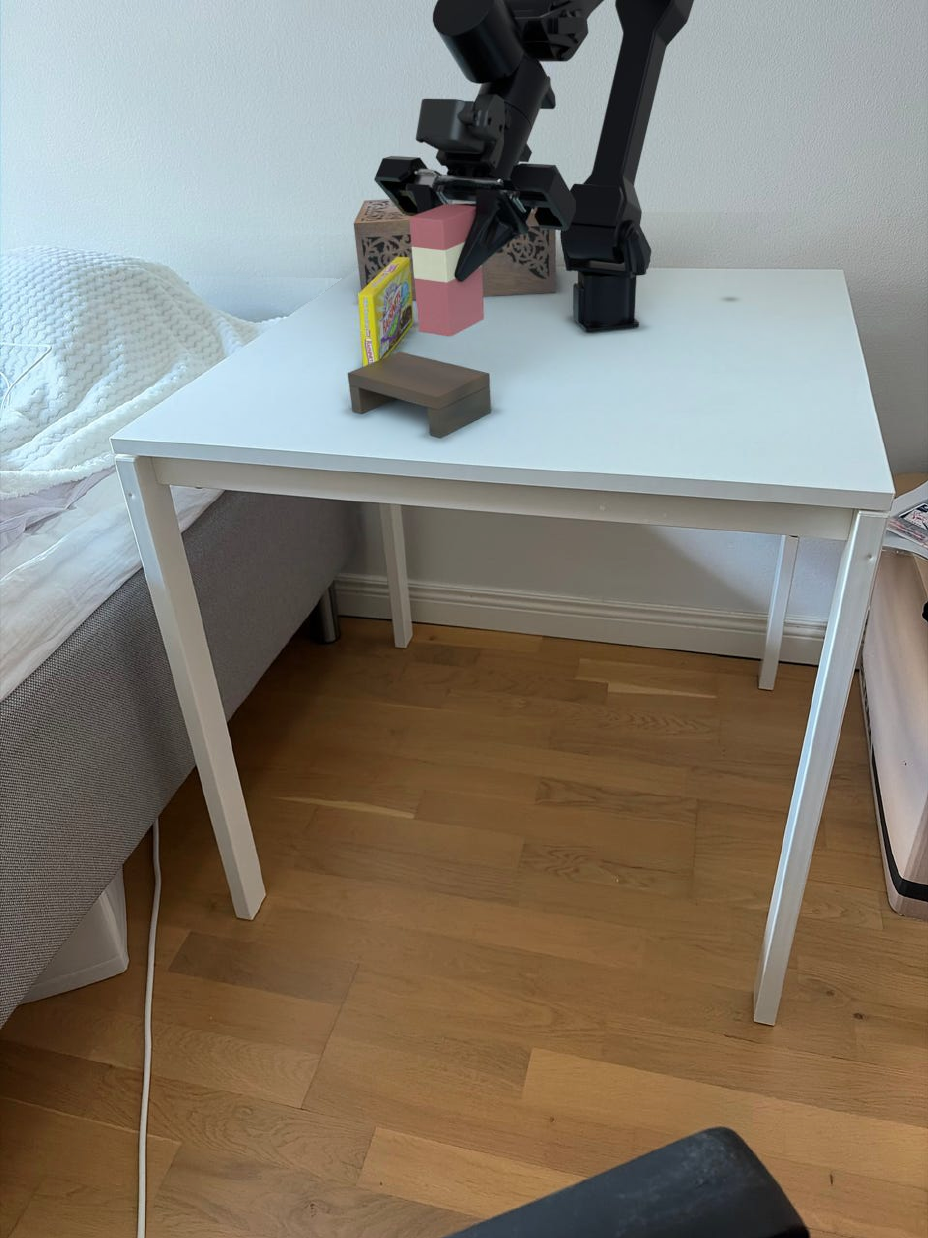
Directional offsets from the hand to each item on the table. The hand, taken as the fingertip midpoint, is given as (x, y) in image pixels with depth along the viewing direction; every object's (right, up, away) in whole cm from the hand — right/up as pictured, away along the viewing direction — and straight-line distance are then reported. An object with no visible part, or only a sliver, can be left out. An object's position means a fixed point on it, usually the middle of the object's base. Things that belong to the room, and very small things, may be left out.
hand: (439, 276), depth 86 cm
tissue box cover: (+2, +16, +48) cm, 50 cm away
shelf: (-2, -10, +9) cm, 14 cm away
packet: (+1, -3, +4) cm, 5 cm away
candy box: (-6, +1, +27) cm, 28 cm away
